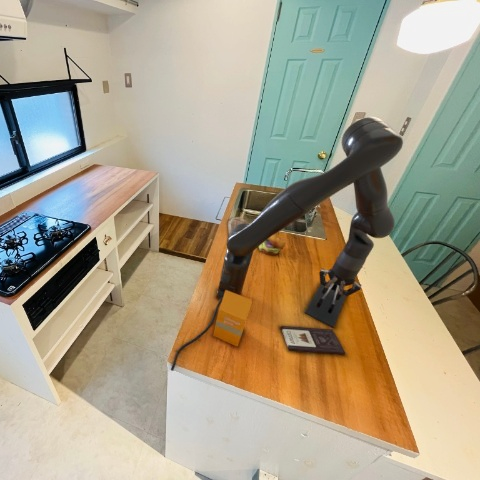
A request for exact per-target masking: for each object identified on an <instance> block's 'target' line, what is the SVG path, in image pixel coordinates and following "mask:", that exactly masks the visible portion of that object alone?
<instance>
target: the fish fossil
mask: <svg viewBox="0 0 480 480" xmlns="http://www.w3.org/2000/svg"><path fill="white" fill-rule="evenodd" d="M240 223H247V221H246V219H244V217H241V216H235V217H232V218H231V219H229V220H228V222H227V232H228V236H229V235H230V233H231V230H232V229H233V227H234V226H236V225H237V224H240ZM247 224H248V223H247Z"/></svg>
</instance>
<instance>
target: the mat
mask: <svg viewBox="0 0 480 480" xmlns="http://www.w3.org/2000/svg"><path fill="white" fill-rule="evenodd" d="M323 289H324V285H321V284H320V283H319V286H318V287H317V289H316V291H315V294H314V295H313V297H312V299H311V300H310V302H309V304H308V306H307V307H306V310H305V312H304V314H306V315H307V316H309V317H312V318H313V319H315V320H317V321H318V322H321V323H322V324H325V325H327V326H328V327H330V328H332V329H334V328H335V326H336V323H337V320H338V318H339V315H340V313H341V311H342V309H343V305H344V303H345V300H346V299H347V296H346V295H342V296H341V297H340V299H339V300H336V301H335V303H334V305H335V307H334V309H333V311H332V312H331V314H330V313H328V310H329V307H330V303H331V300H332V297H333V293H334V290H332V289H331V290H330V292H329V293H328V295H327V296H326V298H325V299H324V301H323V302H322V304H321V306H320V307H319V308H318V307H316V305H317V303H318V302H319V300H320V298H321V299H322V297H323V296H324V295H323V293H322V291H323Z"/></svg>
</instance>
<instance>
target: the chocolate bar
mask: <svg viewBox="0 0 480 480" xmlns="http://www.w3.org/2000/svg"><path fill="white" fill-rule="evenodd" d="M280 329H281V332H282V335H283V338H284V341H285V344H286V346H287V349H288V351H291V352H292V351H293V352H306V353H319V354H331V355H345V354H346V351H345V350H344V347H343V345H342V344H341V341H340V340H339V338H338V336H337V335H336V333H335V331H334V328H332V329H331V328H320V327H319V328H318V327H306V326H305V327H303V326H291V325H281V326H280Z"/></svg>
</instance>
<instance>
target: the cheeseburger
mask: <svg viewBox="0 0 480 480" xmlns="http://www.w3.org/2000/svg"><path fill="white" fill-rule="evenodd" d="M285 246H286V241H285V240H284V239H283V238H282V237H279V236H278V235H277V233H276V234H274V235H272V236H271V237H269V238H268V239H267V240H266V241H264V242H263V243H262V244H261V245H260V246H259V247H258V249H259V251H260V252H263V253H265V254H266V255H267V254H268V255H271V256H275V255H277V254H278V253H279V252H280V251H281V250H283V249H284V248H285Z"/></svg>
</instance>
